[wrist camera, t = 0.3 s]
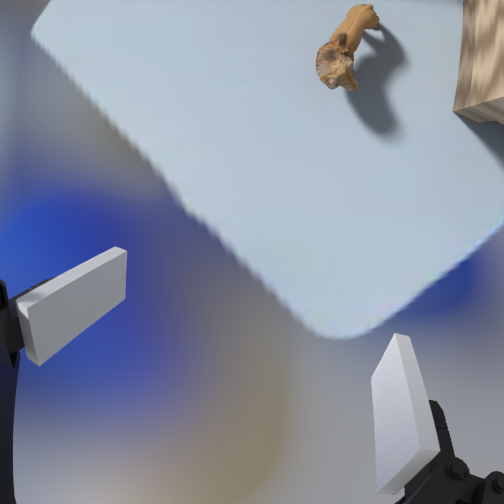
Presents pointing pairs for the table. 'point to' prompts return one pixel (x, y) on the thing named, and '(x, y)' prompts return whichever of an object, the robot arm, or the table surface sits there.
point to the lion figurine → (344, 48)
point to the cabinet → (481, 62)
